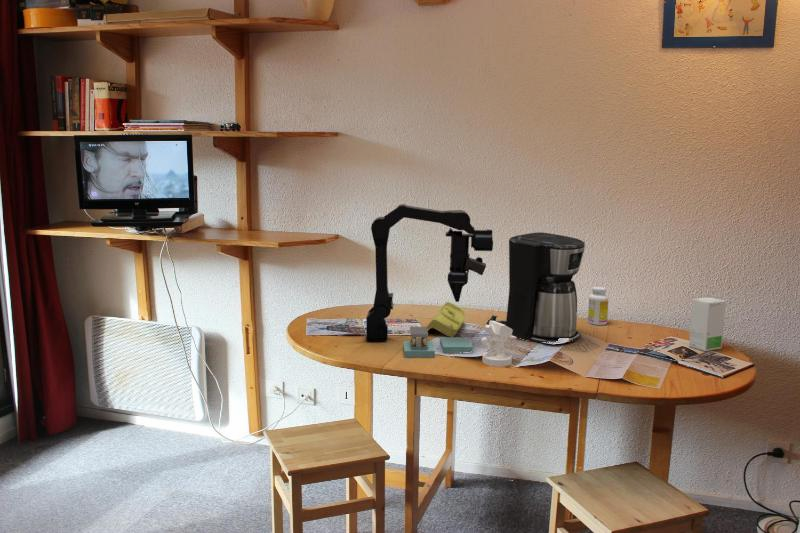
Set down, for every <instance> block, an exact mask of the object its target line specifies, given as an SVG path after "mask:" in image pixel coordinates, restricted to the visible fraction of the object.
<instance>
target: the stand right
mask: <svg viewBox="0 0 800 533" xmlns="http://www.w3.org/2000/svg"><path fill="white" fill-rule="evenodd" d="M439 339H440V341H439V343H440V347H441V350H442V353H443V354H464V353H463V352H471V351H472V352H473V353H474V346H473V345H472V344H473V343H472V342H471V340H470V338H469V337H465V336H464V337H440V338H439ZM460 352H461V353H460Z"/></svg>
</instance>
